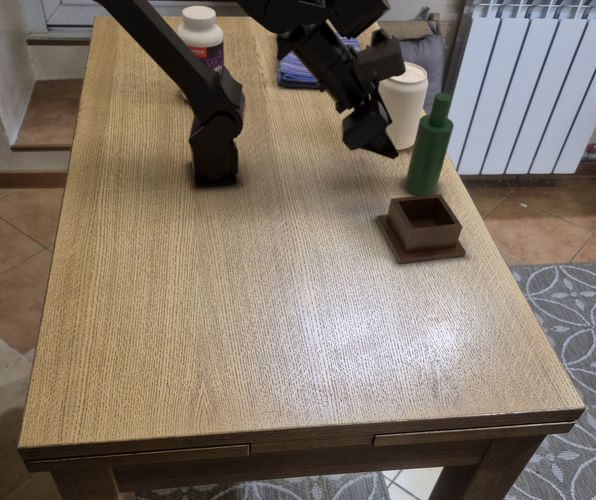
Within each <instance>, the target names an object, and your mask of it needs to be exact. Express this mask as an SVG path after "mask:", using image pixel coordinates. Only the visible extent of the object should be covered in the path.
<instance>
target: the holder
mask: <svg viewBox="0 0 596 500" xmlns="http://www.w3.org/2000/svg"><path fill="white" fill-rule="evenodd" d="M375 220H376V222H377V224H378V226H379V228H380V230H381V232H382V234H383V236H384V237H385V240H386V241H387V243H388V245H389V247H390V249H391V251H392V252H393V255H394V257H395V259H396V260H397V262H398V264H399V265H400V264H408V263H415V262H416V263H417V262H425V261H426V262H427V261H432V260H442V259H451V258H458V257H464V256H465V255H466V253H467V251H466V249H465V248H464V247H463V245H462V243H461V242H460V240H459V238H460V236H461V233H462V230H463V225H462V224H461V222H460V221H459V219H458V217H457V216H456V215H455V213H454V212H453V210H452V209H451V207H450V205H449V204H448V202H447V201H446V200H445V198H444V196H443V194H442V193H433V194H432V195H422V196H419V195H413V196H402V197H391V198H390V201H389V205H388V210H387V214H381V215H376V219H375Z"/></svg>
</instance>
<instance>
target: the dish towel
mask: <svg viewBox="0 0 596 500" xmlns="http://www.w3.org/2000/svg"><path fill="white" fill-rule="evenodd" d="M335 33H336V34H337V36H338V37H339V38H340V39H341V41H342V42H343V43H344V45H345V46H347V45H348V44H349V45H350V46H353V47H354V48H355V49H356V51H357V52H359V51H361V49H360V43H359V39H358V37H357V38H356V39H354V38H351V39H349V40H348V39H347V38H346V37H344V38H343V37H341V36H340V35H339V34H338V32H335ZM277 61H278V62H277V63H278V65H277V83H279V84H281V86H282V87H283V88H310V89H311V88H312V89H318V88H317V80H316V79H315V78H314V77H313V76H312V74H311V73H310V72H309V71H308V70H307V69H306V67H305V66H304V65H303V64H302V63H301V61H300V60H299V59H298V58H297V57H296V56H295V54H294V53H293V52H290V53H289V54H288V55H287V56H286V57H285V58H284V59H282V60H281V61H279V60H277Z"/></svg>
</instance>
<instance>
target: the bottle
mask: <svg viewBox="0 0 596 500" xmlns="http://www.w3.org/2000/svg"><path fill="white" fill-rule="evenodd" d="M433 97H434V98H433V102H432V105H431V110H430V113H429V114H425V115H423V116H421V118H420V121H419V125H418V130H417V134H416V138H415V142H414V144H413V146H412V151H411V156H410V160H409V164H408V169H407V173H406V178H405V182H404V187H405V189H406V190H407V191H408V192H409V193H411V194H412V195H414V196H422V195H432V194H435V193H436V191H437V189H438V184H439V180H440V177H441V173H442V169H443V166H444V162H445V158H446V156H447V152H448V148H449V145H450V142H451V137H452V133H453V131H454V126H455V125H454V122H453V121H452V120H451V119H449V118H448V114H449V110H450V108H451V107H450V106H451V103H452V99H453V97H452V96H451V95H450V94H449V93H446V92H437V93H435V94H434V96H433Z"/></svg>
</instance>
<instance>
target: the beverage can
mask: <svg viewBox="0 0 596 500" xmlns="http://www.w3.org/2000/svg"><path fill="white" fill-rule="evenodd" d="M404 64H405V68H406V72H405V73H404V74H403V75H401V76H398V77H395V76H394V77H391V78H388V79H385V80H383V81H380V82H379V89H378V90H379V92H380V94H381V96H382V99H383V101H384V103H385V105H386V108H387V110H388V112H389V114H390V117H391V119H392V124H390V125H389V126H388V127H387V128H386V130H387V132H388V134H389V136H390V138H391V140H392V141H393V143H394V145H395V147H396V149H397V151H399V150H405V149H409V148H410V147H413V146H414V142H415V138H416V134H417V130H418V125H419V121H420V118H421V117H422V113H423V108H424V104H425V99H426V95H427V91H428V88H429V87H428V86H429V80H428V72H427V70H426V69H425V68H423V67H422V66H421V65H418V64H415V63H412V62H408V61H404Z"/></svg>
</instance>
